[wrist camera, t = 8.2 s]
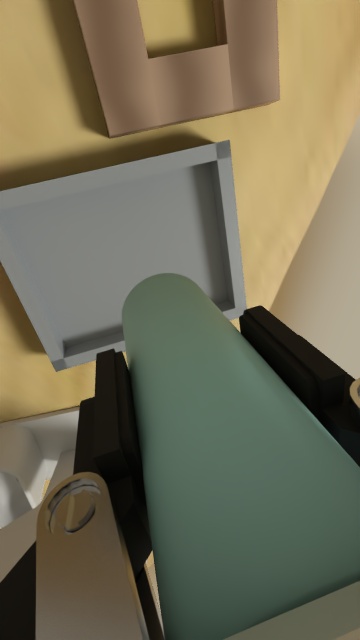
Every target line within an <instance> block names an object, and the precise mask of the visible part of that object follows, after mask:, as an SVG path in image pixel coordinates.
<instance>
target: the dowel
mask: <svg viewBox="0 0 360 640" xmlns="http://www.w3.org/2000/svg"><path fill="white" fill-rule="evenodd" d="M122 325H123V333H124V340H125V348H126V355H127V363H128V370H129V375H130V382H131V390H132V397H133V404H134V412H135V419H136V426H137V434H138V441H139V448H140V456H141V463H142V470H143V481H144V489H145V497H146V504H147V512H148V519H149V527H150V534H151V542H152V549H153V557H154V564H155V571H156V579H157V586H158V593H159V601H160V609H161V616H162V624H163V631H164V639H165V640H223V639H226V638H228V637H230V636H233V635H235V634H237V633H239V632H242V631H244V630H246V629H249V628H251V627H253V626H256V625H258V624H260V623H263V622H265V621H267V620H270V619H272V618H274V617H277V616H279V615H281V614H284V613H286V612H288V611H291V610H293V609H295V608H298V607H300V606H302V605H305V604H307V603H309V602H312V601H314V600H316V599H319V598H321V597H323V596H326V595H328V594H330V593H333V592H335V591H337V590H340V589H342V588H344V587H347V586H349V585H351V584H354V583H356V582H358V581H360V467H359V466H358V465H357V464H356V463H355V461H354V460H353V459H352V458H351V457H350V456H349V455H348V454H347V452H346V451H345V450H344V449H343V448H342V447H341V446H340V445H339V443H338V442H337V441H336V440H335V439H334V438H333V437H332V436H331V434H330V433H329V432H328V431H327V430H326V429H325V428H324V427H323V425H322V424H321V423H320V422H319V421H318V420H317V419H316V418H315V416H314V415H313V414H312V413H311V412H310V411H309V410H308V409H307V407H306V406H305V405H304V404H303V403H302V402H301V401H300V400H299V398H298V397H297V396H296V395H295V394H294V393H293V392H292V391H291V389H290V388H289V387H288V386H287V385H286V384H285V383H284V382H283V380H282V379H281V378H280V377H279V376H278V375H277V374H276V372H275V371H274V370H273V369H272V368H271V367H270V366H269V365H268V363H267V362H266V361H265V360H264V359H263V358H262V357H261V356H260V354H259V353H258V352H257V351H256V350H255V349H254V348H253V347H252V345H251V344H250V343H249V342H248V341H247V340H246V339H245V338H244V336H243V335H242V334H241V333H240V332H239V331H238V330H237V329H236V327H235V326H234V325H233V324H232V323H231V322H230V321H229V320H228V318H227V317H226V316H225V315H224V314H223V313H222V312H221V311H220V309H219V308H218V307H217V306H216V305H215V304H214V303H213V302H212V300H211V299H210V298H209V297H208V296H207V295H206V294H205V293H204V291H203V290H202V289H201V288H200V287H199V286H198V285H197V284H196V283H195V282H194V281H192V280H191V279H189V278H187V277H185V276H183V275H180V274H175V273H161V274H156V275H153V276H150V277H148V278H146V279H144V280H143V281H141V282H140V283H138V284H137V285H136V286H135V287H134V288H133V289H132V290H131V291H130V293H129V294H128V296H127V298H126V300H125V302H124V305H123V309H122Z"/></svg>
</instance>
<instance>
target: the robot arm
mask: <svg viewBox="0 0 360 640" xmlns="http://www.w3.org/2000/svg"><path fill="white" fill-rule="evenodd" d="M239 322H240V331H241V334H242V335H243V336H244V338H245V339H246V340H247V341H248V342H249V343H250V344H251V345H252V347H253V348H254V349H255V350H256V351H257V352H258V353H259V354H260V356H261V357H262V358H263V359H264V360H265V361H266V362H267V363H268V365H269V366H270V367H271V368H272V369H273V370H274V371H275V372H276V374H277V375H278V376H279V377H280V378H281V379H282V380H283V382H284V383H285V384H286V385H287V386H288V387H289V388H290V389H291V391H292V392H293V393H294V394H295V395H296V396H297V397H298V398H299V400H300V401H301V402H302V403H303V404H304V405H305V406H306V407H307V409H308V410H309V411H310V412H311V413H312V414H313V415H314V416H315V418H316V419H317V420H318V421H319V422H320V423H321V424H322V425H323V427H324V428H325V429H326V430H327V431H328V432H329V433H330V434H331V436H332V437H333V438H334V439H335V440H336V441H337V442H338V443H339V445H340V446H341V447H342V448H343V449H344V450H345V451H346V452H347V454H348V455H349V456H350V457H351V458H352V459H353V460H354V461H355V463H356V464H357V465H358V466H359V467H360V378H359V379H357V380H355V379H354V378H353V377H352V376H350V375H349V374H347V372H345V371H344V370H343V369H342V368H340V367H339V366H338V365H337V364H335V363H334V362H333V361H331V360H330V359H329V358H328V357H327V356H325V355H324V354H323V353H322V352H320V351H319V350H318V349H317V348H315V347H314V346H313V345H312V344H310V343H309V342H308V341H307V340H305V339H304V338H303V337H301V336H300V335H297V334H296V333H295V332H293V331H292V330H291V329H290V328H289V327H287V326H286V325H285V324H284V323H282V322H281V321H280V320H279V319H277V318H276V317H275V316H274V315H272V314H271V313H270V312H269V311H268V310H266V309H265V308H264V307H263V306H261V305H260V306H256V307H253V308H250V309H246V310H244V312H243V315H241V316H240V317H239ZM152 550H153V549H152V542H151V534H150V527H149V519H148V512H147V504H146V497H145V489H144V481H143V470H142V463H141V456H140V448H139V441H138V434H137V426H136V419H135V412H134V404H133V397H132V390H131V382H130V375H129V370H128V367H127V364H126V361H125V358H124V355H123V353H122V351H119V352H116V351H115V349H114V348H113V349H110V350H107V351H103V352H100V353H97V354H96V378H95V397H92V398H89V399H86V400H82V401H81V403H80V408H79V418H78V428H77V438H76V448H75V458H74V468H73V475H72V476H70V477H68V478H66V479H65V480H63V481H62V482H60V483H59V484H58V485H57V486H56V487H55V488H54V489H53V490H52V491H51V492H50V493H49V494H48V496H47V497H46V499H45V500H44V501H43V503H42V506H41V508H40V510H39V512H38V518H37V524H36V541H35V542H34V543H33V544H32V545H31V547H30V548H29V549H28V550H27V551H26V553H25V554H24V555H23V556H22V557H21V558H20V560H19V561H18V562H17V563H16V564H15V566H14V567H13V568H12V569H11V570H10V572H9V573H8V574H7V575H6V576H5V577H4V579H3V580H2V581H1V582H0V640H165V639H164V631H163V624H162V617H161V614H160V610H159V606H158V603H157V599H156V596H155V592H154V589H153V586H152V582H151V579H150V576H149V572H148V568H147V565H146V560H147V559H148V557H149V555H150V553H151V551H152ZM223 640H360V581H358V582H356V583H354V584H351V585H349V586H347V587H344V588H342V589H340V590H337V591H335V592H333V593H330V594H328V595H326V596H323V597H321V598H319V599H316V600H314V601H312V602H309V603H307V604H305V605H302V606H300V607H298V608H295V609H293V610H291V611H288V612H286V613H284V614H281V615H279V616H277V617H274V618H272V619H270V620H267V621H265V622H263V623H260V624H258V625H256V626H253V627H251V628H249V629H246V630H244V631H242V632H239V633H237V634H235V635H233V636H230V637H228V638H226V639H223Z"/></svg>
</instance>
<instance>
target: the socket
mask: <svg viewBox="0 0 360 640" xmlns="http://www.w3.org/2000/svg"><path fill="white" fill-rule="evenodd" d="M73 3H74V7H75V11H76V14H77V18H78V22H79V26H80V29H81V33H82V37H83V41H84V44H85V48H86V52H87V56H88V59H89V63H90V67H91V71H92V74H93V78H94V82H95V86H96V89H97V93H98V97H99V101H100V104H101V108H102V112H103V116H104V119H105V123H106V127H107V130H108V134H109V138H115V137H120V136H124V135H129V134H134V133H138V132H143V131H148V130H153V129H157V128H162V127H167V126H171V125H176V124H181V123H185V122H190V121H195V120H199V119H204V118H209V117H213V116H218V115H223V114H227V113H232V112H237V111H241V110H246V109H251V108H255V107H260V106H265V105H269V104H271V103H273V102H276V101H278V100H280V84H279V52H278V19H277V0H213V7H214V17H215V26H216V36H217V45H218V46H215V47H210V48H204V49H199V50H193V51H188V52H183V53H177V54H172V55H167V56H161V57H156V58H151V59H148V55H147V50H146V44H145V39H144V34H143V29H142V24H141V19H140V13H139V8H138V3H137V0H73Z"/></svg>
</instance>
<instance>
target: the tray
mask: <svg viewBox="0 0 360 640" xmlns="http://www.w3.org/2000/svg"><path fill="white" fill-rule="evenodd" d="M0 261H1V263H2V265H3V267H4V269H5V271H6V273H7V275H8V277H9V279H10V281H11V283H12V285H13V287H14V289H15V291H16V293H17V295H18V297H19V299H20V301H21V303H22V305H23V307H24V309H25V311H26V313H27V315H28V317H29V319H30V321H31V323H32V325H33V327H34V329H35V331H36V333H37V335H38V337H39V339H40V341H41V343H42V345H43V347H44V349H45V351H46V353H47V355H48V357H49V359H50V361H51V363H52V365H53V367H54V369H55V371H56V372H57V371H60V370H64V369H67V368H71V367H74V366H77V365H81V364H84V363H87V362H91V361H94V360H96V354H97V353H100V352H103V351H107V350H110V349H113V348H114V349H115V351H116V352H119V351H122V352H125V351H126V348H125V340H124V333H123V325H122V309H123V305H124V302H125V300H126V298H127V296H128V294H129V293H130V291H131V290H132V289H133V288H134V287H135V286H136V285H137V284H138V283H140V282H141V281H143V280H144V279H146V278H148V277H150V276H153V275H156V274H161V273H175V274H180V275H183V276H185V277H187V278H189V279H191V280H192V281H194V282H195V283H196V284H197V285H198V286H199V287H200V288H201V289H202V290H203V291H204V293H205V294H206V295H207V296H208V297H209V298H210V299H211V300H212V302H213V303H214V304H215V305H216V306H217V307H218V308H219V309H220V311H221V312H222V313H223V314H224V315H225V316H226V317H227V318H228V320H233V319H236V318H239V317H240V316H241V315H243V312H244V310H246V309H247V306H246V296H245V287H244V277H243V267H242V257H241V247H240V238H239V228H238V218H237V208H236V198H235V188H234V179H233V169H232V159H231V149H230V140H226V141H222V142H217V143H213V144H208V145H204V146H200V147H195V148H191V149H186V150H182V151H177V152H173V153H168V154H164V155H159V156H155V157H151V158H146V159H142V160H137V161H133V162H128V163H124V164H119V165H115V166H110V167H106V168H102V169H97V170H93V171H88V172H84V173H79V174H75V175H70V176H66V177H61V178H57V179H52V180H48V181H44V182H39V183H35V184H30V185H26V186H21V187H17V188H12V189H8V190H3V191H0Z"/></svg>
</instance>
